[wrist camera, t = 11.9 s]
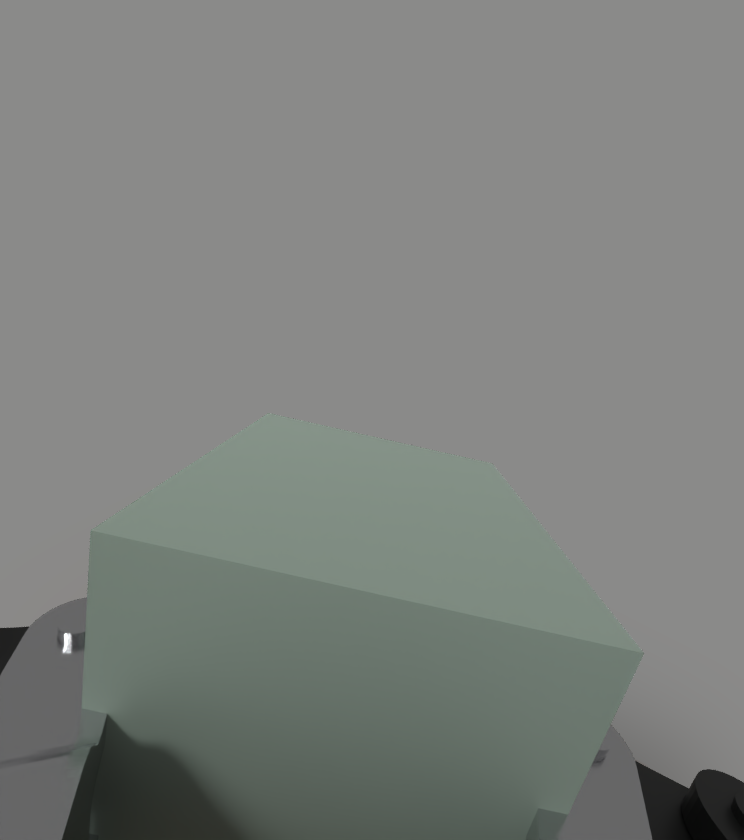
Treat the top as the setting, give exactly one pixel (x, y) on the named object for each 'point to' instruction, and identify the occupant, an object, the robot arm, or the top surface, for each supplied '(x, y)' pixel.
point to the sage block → (341, 649)
